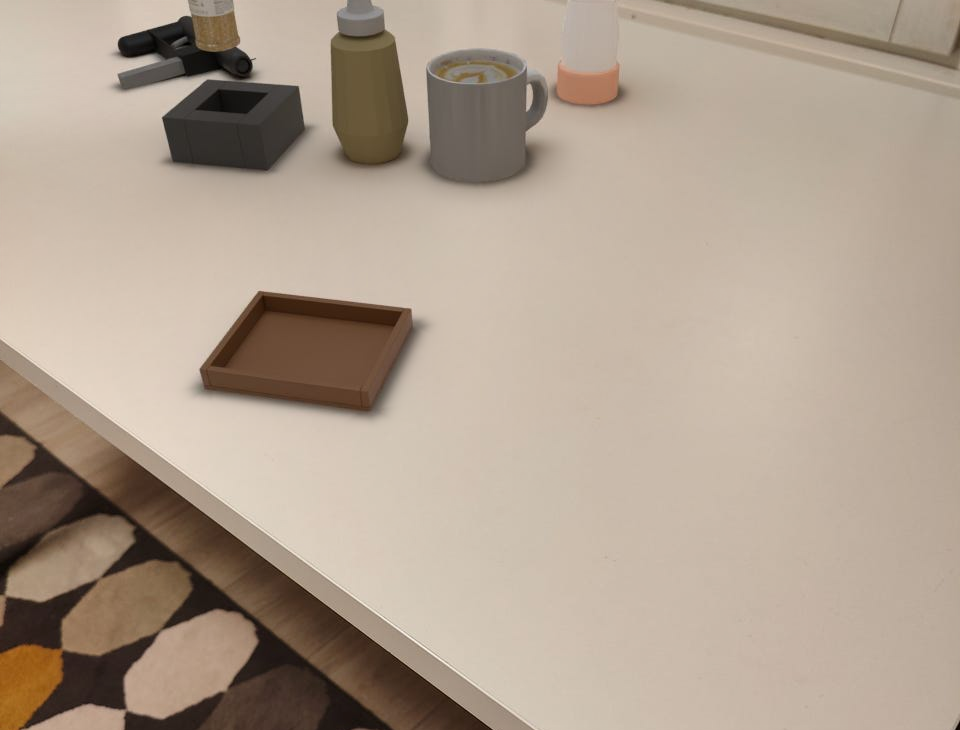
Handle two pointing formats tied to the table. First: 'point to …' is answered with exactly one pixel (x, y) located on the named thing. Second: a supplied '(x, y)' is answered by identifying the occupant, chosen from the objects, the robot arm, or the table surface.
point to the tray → (309, 350)
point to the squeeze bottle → (367, 85)
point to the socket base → (234, 124)
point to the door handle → (177, 55)
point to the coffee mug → (481, 113)
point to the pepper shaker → (589, 52)
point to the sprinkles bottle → (214, 24)
